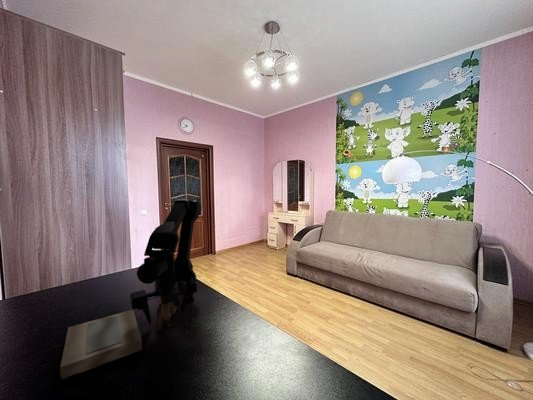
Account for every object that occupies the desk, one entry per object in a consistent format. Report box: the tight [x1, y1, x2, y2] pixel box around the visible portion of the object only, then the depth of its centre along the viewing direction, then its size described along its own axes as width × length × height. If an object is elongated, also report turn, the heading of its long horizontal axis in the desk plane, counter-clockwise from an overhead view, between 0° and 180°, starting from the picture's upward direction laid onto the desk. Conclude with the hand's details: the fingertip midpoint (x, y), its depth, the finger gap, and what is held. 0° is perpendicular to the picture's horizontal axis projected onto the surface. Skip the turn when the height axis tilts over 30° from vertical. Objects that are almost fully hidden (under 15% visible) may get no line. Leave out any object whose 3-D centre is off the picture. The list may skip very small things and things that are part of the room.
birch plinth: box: [59, 309, 143, 380], centre depth 63 cm, size 16×18×3 cm
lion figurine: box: [156, 297, 178, 330], centre depth 73 cm, size 15×5×9 cm, turn 34°
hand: (165, 318), depth 72 cm, fingers open, 9 cm apart
